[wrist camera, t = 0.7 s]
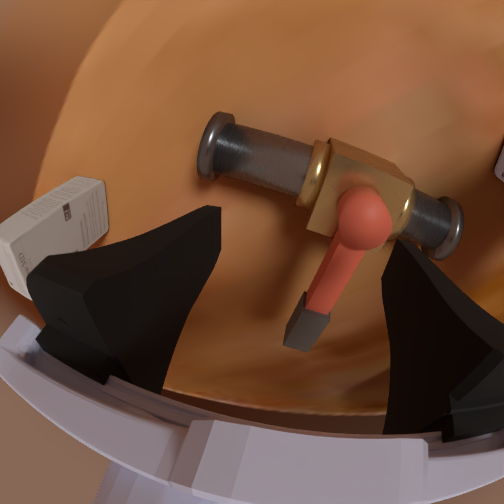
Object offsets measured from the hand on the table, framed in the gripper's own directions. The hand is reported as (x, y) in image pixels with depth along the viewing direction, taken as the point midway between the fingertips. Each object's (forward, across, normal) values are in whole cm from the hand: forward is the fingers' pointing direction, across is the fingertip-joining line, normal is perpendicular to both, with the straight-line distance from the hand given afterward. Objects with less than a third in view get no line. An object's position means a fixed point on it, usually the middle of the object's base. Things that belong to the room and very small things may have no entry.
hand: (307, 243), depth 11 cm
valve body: (+10, -3, 0) cm, 10 cm away
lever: (+5, -2, +5) cm, 7 cm away
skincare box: (+10, +21, +5) cm, 24 cm away
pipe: (+10, -2, 0) cm, 10 cm away
